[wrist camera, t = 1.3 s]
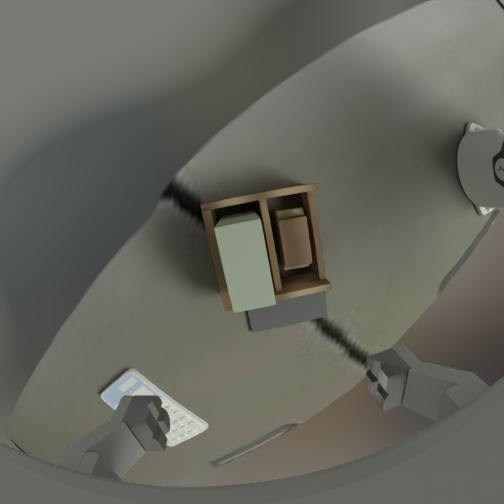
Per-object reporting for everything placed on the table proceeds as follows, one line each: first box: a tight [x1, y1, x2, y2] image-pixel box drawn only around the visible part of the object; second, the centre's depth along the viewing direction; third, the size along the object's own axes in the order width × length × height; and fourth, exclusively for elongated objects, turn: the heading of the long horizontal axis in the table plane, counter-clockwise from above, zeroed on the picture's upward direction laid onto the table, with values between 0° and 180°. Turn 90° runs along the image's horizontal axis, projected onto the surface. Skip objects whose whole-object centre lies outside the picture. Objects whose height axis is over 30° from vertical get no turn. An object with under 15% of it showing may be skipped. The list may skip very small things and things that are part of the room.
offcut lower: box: [274, 207, 310, 270], centre depth 37 cm, size 4×8×3 cm, turn 9°
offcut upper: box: [276, 215, 312, 268], centre depth 35 cm, size 4×6×2 cm, turn 10°
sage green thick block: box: [214, 210, 276, 313], centre depth 33 cm, size 4×9×12 cm, turn 11°
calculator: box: [101, 368, 208, 446], centre depth 45 cm, size 13×20×2 cm, turn 42°
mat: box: [247, 291, 327, 332], centre depth 41 cm, size 12×7×1 cm, turn 101°
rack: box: [200, 183, 331, 311], centre depth 36 cm, size 14×14×6 cm
